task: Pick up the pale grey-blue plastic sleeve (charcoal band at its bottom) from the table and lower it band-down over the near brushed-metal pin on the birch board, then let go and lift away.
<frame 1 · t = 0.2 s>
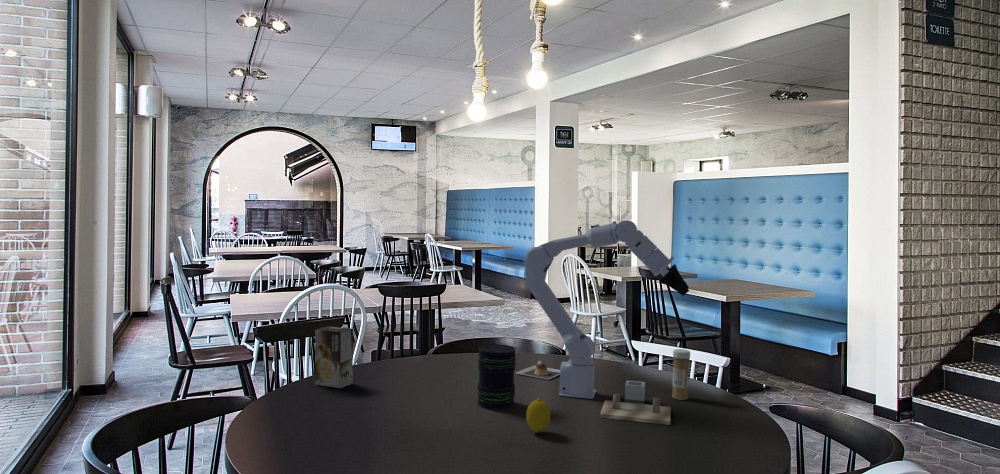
hand: (686, 291, 175), 31 cm above the table, tool tilted 45°, fingers open, 7 cm apart
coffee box: (333, 384, 188), on the table
lemon: (537, 433, 151), on the table
dessert: (541, 376, 206), on the table
storage jar: (495, 405, 172), on the table
sleeve: (634, 401, 178), on the table
pin board: (635, 414, 167), on the table
sprinkles bottle: (680, 398, 183), on the table
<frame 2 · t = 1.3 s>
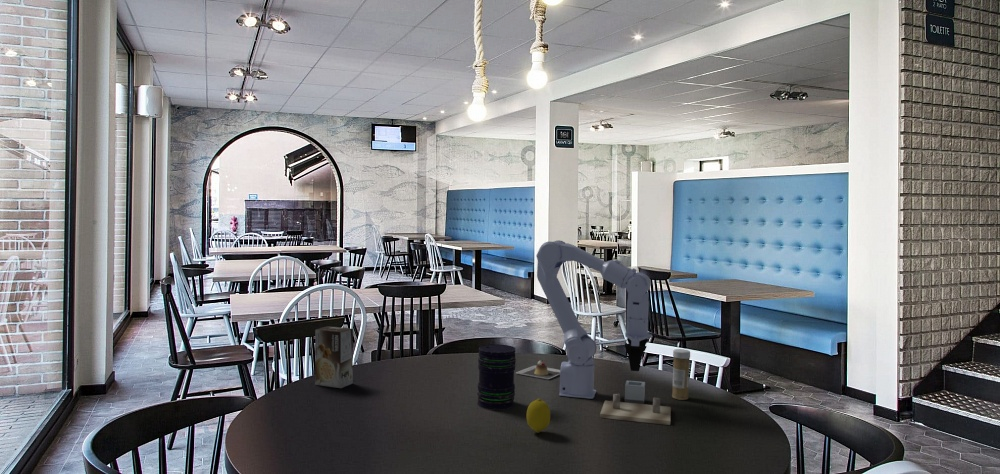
hand: (635, 367, 177), 9 cm above the table, tool pointing down, fingers open, 7 cm apart
nothing on the table moved.
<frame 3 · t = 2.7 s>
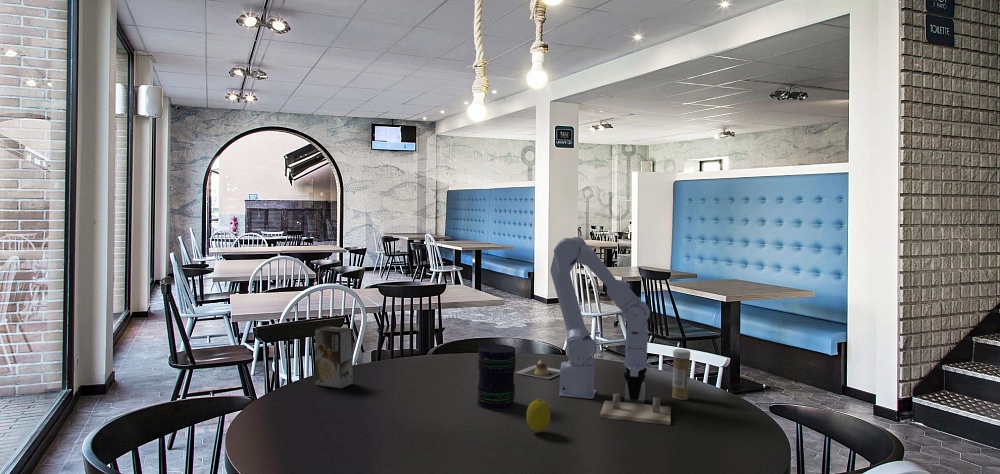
hand: (634, 396, 178), 1 cm above the table, tool pointing down, fingers closed on sleeve, 5 cm apart
sleeve: (634, 401, 178), on the table, touching gripper
everything else where it was.
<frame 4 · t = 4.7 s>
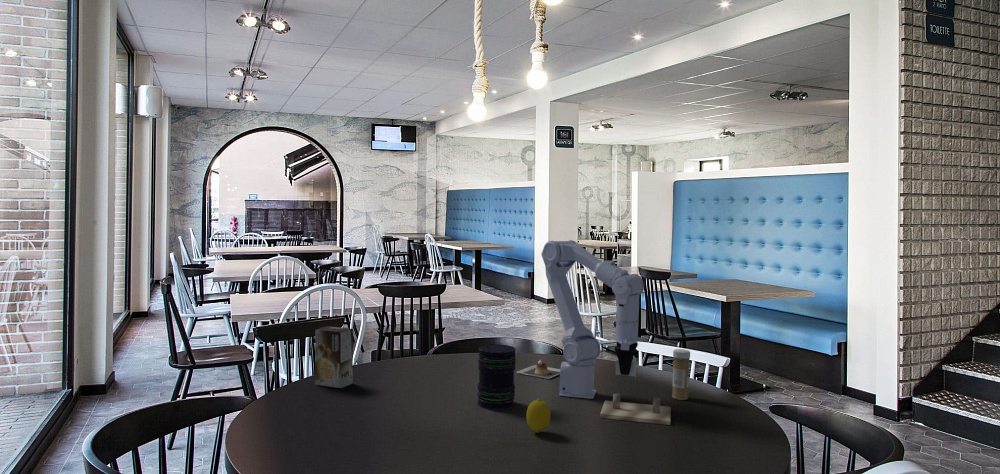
hand: (625, 372, 172), 9 cm above the table, tool pointing down, fingers closed on sleeve, 5 cm apart
sleeve: (625, 377, 172), point 8 cm above the table, touching gripper
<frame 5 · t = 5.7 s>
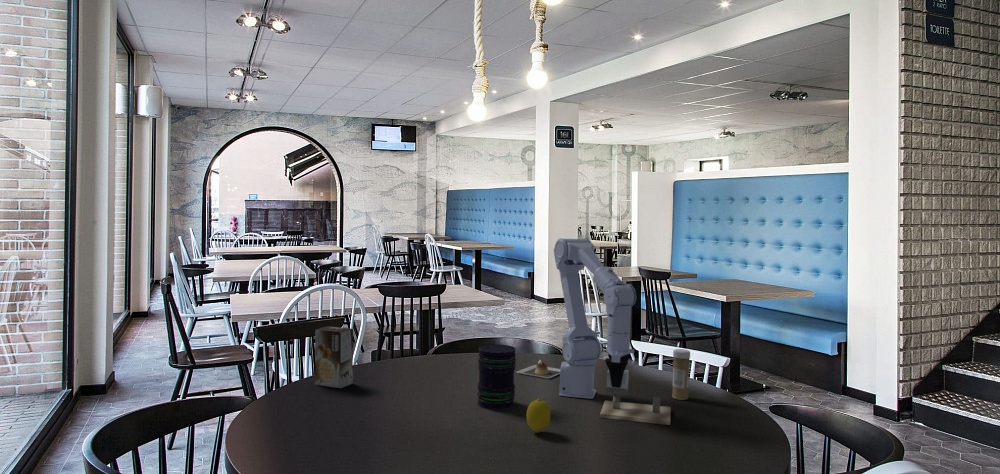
hand: (617, 384, 168), 7 cm above the table, tool pointing down, fingers closed on sleeve, 5 cm apart
sleeve: (617, 390, 168), point 6 cm above the table, touching gripper
when the fingers open (5 cm above the table, at t = 6.7 s): sleeve drops 2 cm, resting on pin board.
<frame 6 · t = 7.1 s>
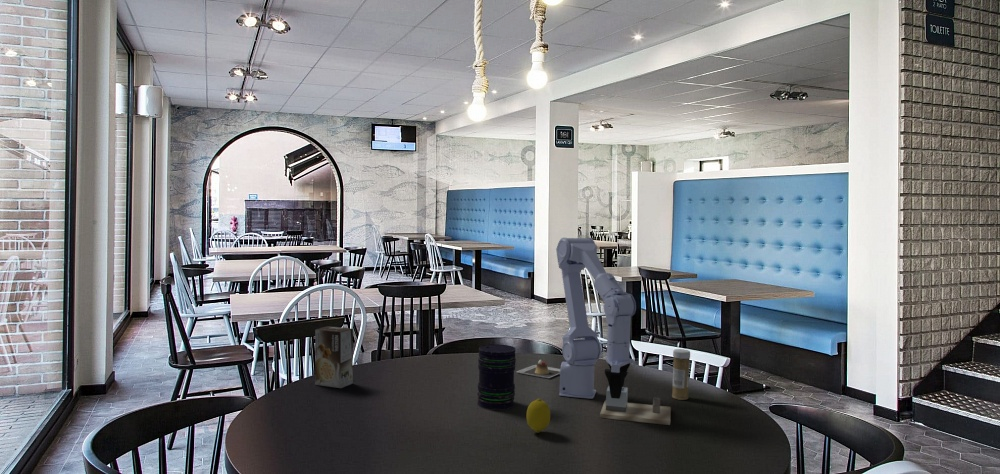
hand: (616, 393, 168), 5 cm above the table, tool pointing down, fingers open, 7 cm apart
sleeve: (616, 408, 168), point 1 cm above the table, touching pin board
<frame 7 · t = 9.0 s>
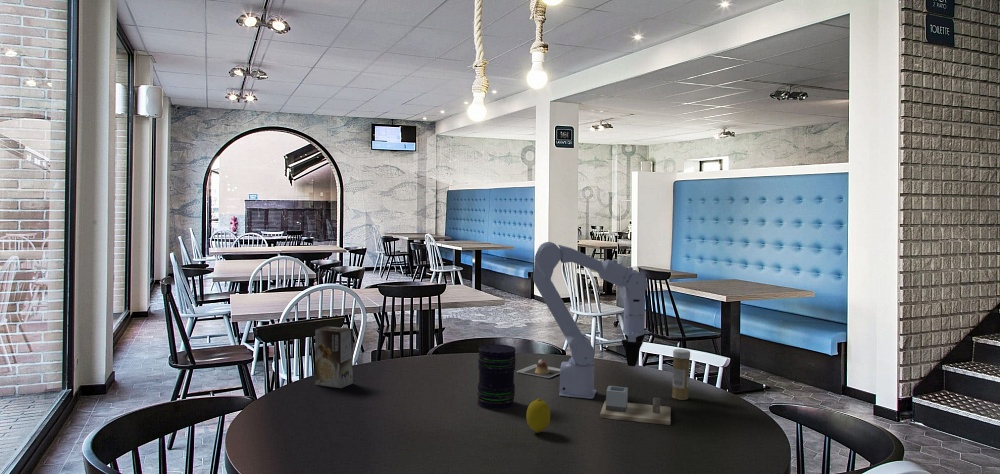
hand: (632, 362, 183), 9 cm above the table, tool pointing down, fingers open, 7 cm apart
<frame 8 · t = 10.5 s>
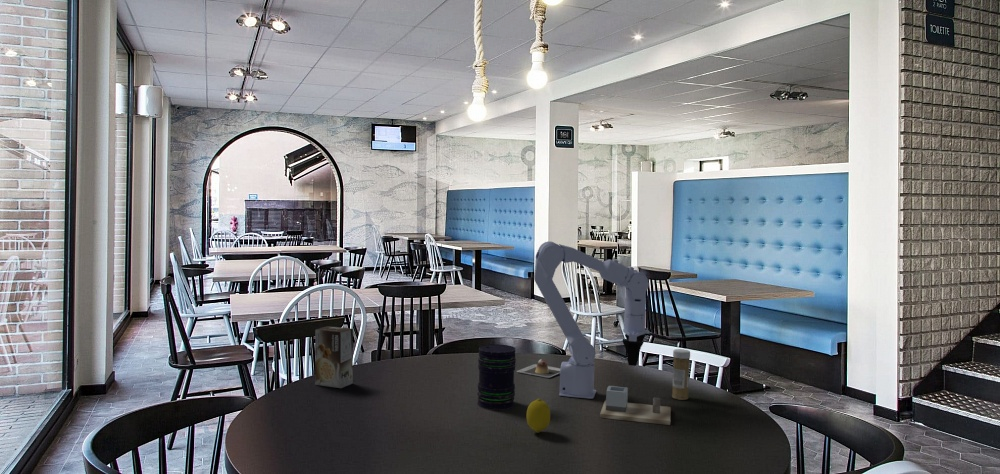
hand: (633, 362, 183), 9 cm above the table, tool pointing down, fingers open, 7 cm apart
at the end: sleeve 0.1 cm from the target spot on the pin board, point 1.0 cm above the pin board's base; sleeve tilted 0°; the gripper is holding nothing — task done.
